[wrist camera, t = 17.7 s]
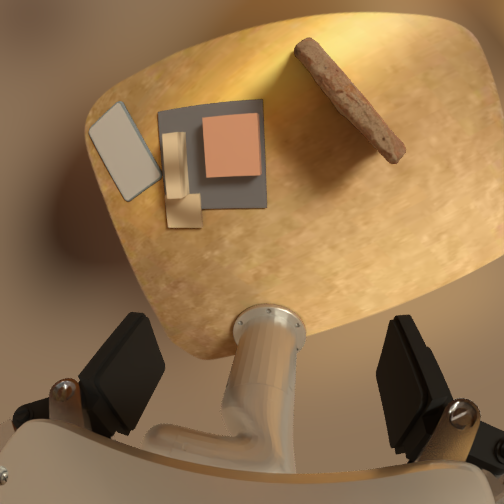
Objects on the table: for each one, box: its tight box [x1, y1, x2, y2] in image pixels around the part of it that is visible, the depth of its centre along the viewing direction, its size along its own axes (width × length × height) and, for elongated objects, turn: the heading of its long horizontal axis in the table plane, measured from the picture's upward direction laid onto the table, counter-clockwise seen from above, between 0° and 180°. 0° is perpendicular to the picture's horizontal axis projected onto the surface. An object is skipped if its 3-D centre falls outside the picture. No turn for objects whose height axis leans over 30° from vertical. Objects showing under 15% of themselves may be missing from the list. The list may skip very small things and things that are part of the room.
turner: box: [162, 132, 203, 228], centre depth 37 cm, size 14×6×3 cm, turn 1°
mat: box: [158, 99, 267, 209], centre depth 36 cm, size 15×15×1 cm
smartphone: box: [89, 101, 162, 201], centre depth 38 cm, size 8×1×15 cm
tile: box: [202, 113, 262, 178], centre depth 34 cm, size 2×7×8 cm
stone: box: [294, 38, 406, 164], centre depth 26 cm, size 18×10×4 cm
